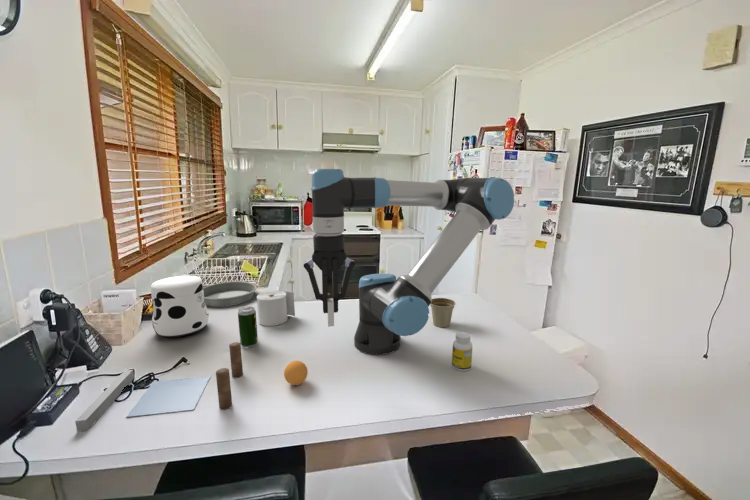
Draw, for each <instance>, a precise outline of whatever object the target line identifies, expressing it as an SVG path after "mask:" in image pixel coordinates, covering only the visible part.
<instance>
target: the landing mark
mask: <svg viewBox="0 0 750 500" xmlns="http://www.w3.org/2000/svg"><path fill="white" fill-rule="evenodd" d="M210 379H211V376H199V377H188V378H175V379H166V380H164V379H163V380H156V382H154V381H153V382H154V383H153V382H152V383H151V384H150V386H149V387H148V388H147V389H146V390H145V392H144V394H143V395H142V396H141V397H140V399H139V400H138V401H137V402H136V404H135V405H134V406H133V408H132V409H131V410H130V411H129V413H128V414H127V415H126V417H125V418H133V417H134V418H135V417H136V418H137V417H145V416H152V415H153V416H154V415H163V414H171V413H181V412H189V411H190V412H191V411H192V412H193V411H194V410H195V408H196V406H197V405H198V403H199V400H200V398H201V396H202V395H203V393H204V391H205V389H206V387H207V385H208V383H209V381H210Z"/></svg>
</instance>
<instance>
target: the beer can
mask: <svg viewBox="0 0 750 500" xmlns="http://www.w3.org/2000/svg"><path fill="white" fill-rule="evenodd" d="M237 310H238V311H237V318H238V319H237V321H238V330H239V331H238V332H239V343H240V344H241V347H242V348H245V347H249V348H252V346H253V347H255V346H256V345H257V344H258V343H259V337H258V324H257V311H256V308H255V307H254V306H251V305H250V306H247V305H246V306H242V307H240V308H239V309H237Z"/></svg>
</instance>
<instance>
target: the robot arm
mask: <svg viewBox="0 0 750 500" xmlns="http://www.w3.org/2000/svg"><path fill="white" fill-rule="evenodd" d="M310 190H311V202H312V231H313V233H314V235H313V236H312V237H313V238H312V239H313V253H312V255H311V258H310V259H308V260H305V261H304V262H303V268H304V269H305V270H306V272H307V274H308V276H309V280H310V284H311V286H312V287H311V288H312V290H313V294H314V298H315V300H317V301H319V300H320V301H322V312H323V314H327V326H328V327H335V313H338V312H339V301H340V300H341V299H344V298H346V295H347V290H348V286H349V281H350V277H351V274H352V273H351V272H352V270H353V269H354V268H355V266H356V262H355V260H354V259H351V258H349V257H347V254H346V252H345V235H344V234H343V233H344V232H345V209H377V208H384V207H386V206H390V207H391V206H394V207H395V206H396V207H399V206H401V207H429V208H430V207H431V208H434V209H435V210H436V211H448V212H453V213H455V214H454V215H453V217H451V219H450V221H449V222H448V223H447V224H446V225H445V227H444V228H443V229H442V231H441V232H440V233H439V234H438V236H436V237H435V239H434V241H433V242H431V245H429V247H428V248H427V249H426V251H424V253H423V254H422V255H421V257H420V258H419V259H418V261H417V262H416V263H415V264H414V266H413V267H412V268H411V269H410V271H409V272H408V274H404V275H400V276H398V277H397V276H396V275H395V274H392V273H371V274H365V275H363V276H361V277H360V279H359V282H358V307H359V309H358V310H359V312H358V313H359V315H358V316H359V320H358V321H359V322H358V325H357V328H356V331H355V334H354V337H353V341H354V342H353V343H354V345H353V346H354V347H355V349H357V350H358V351H359V352H361V353H364V354H367V355H368V354H369V355H375V356H376V355H377V356H378V355H387V354H391V353H394V352H396V351H397V350H398V349H400V347H401V345H402V337H407V336H413V335H415V334H417V333H420V331H422V330H423V329H424V327H425V326H426V324H427V323H428V321H429V318H430V315H429V314H430V309H429V308H430V304H431V302H432V299H433V298H432V297H433V296H432V294H433V293H434V291H435V289H436V288H437V287H438V285H439V284H441V282H442V280H443V279H444V278H445V276H446V275H447V274H448V272H449V271H450V270H451V269H452V267H453V266H454V265H455V263H457V261H458V260H459V259H460V257H461V256H462V255H463V253H464V252H465V251H466V249H467V248H468V247H469V246H470V245H471V243H472V242H473V240H474V239H475V238H476V237H477V235H478V234H479V233H480V231H486V230H488V229H489V228H490V227H491V225H492V224H493V223H494V222H495V221H498V220H500V221H501V220H504V219H506V218H507V217H509V216H510V214H511V213H512V211H513V209H514V205H515V193H514V189H513V187H512V185H511V183H510V182H508V181H507V180H506V178H505V179H504V178H501V177H496V176H490V177H464V178H455V179H438V180H436V181H435V182H427V181H409V180H397V179H396V180H394V179H393V180H392V179H386V178H384V177H376V176H375V177H374V176H373V177H345V175H344V171H343V170H342V169H340V168H317V169H314V170H313V171H312V172H311V188H310ZM314 264H315V266H316V267H317V268H318V269H319V270H320V271H321V279H322V281H321V285H322V286H321V288H322V289H321V290H322V293H321V292H320V288H319V284H318V282H317V279H316V274H315V272H314V271H315V270H314V267H315V266H314ZM343 264H344V266H345V268H344V273H343V277H342V282H341V286H340V290H339V278H338V277H339V275H338V274H339V273H338V271H339V269H341V267H342V265H343ZM328 272H331V273H332V274H331V275H332V276H331V278H332V281H331V282H332V283H331V284H332V298H329V297H328V296H329V295H328V290H329V289H328Z"/></svg>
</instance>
